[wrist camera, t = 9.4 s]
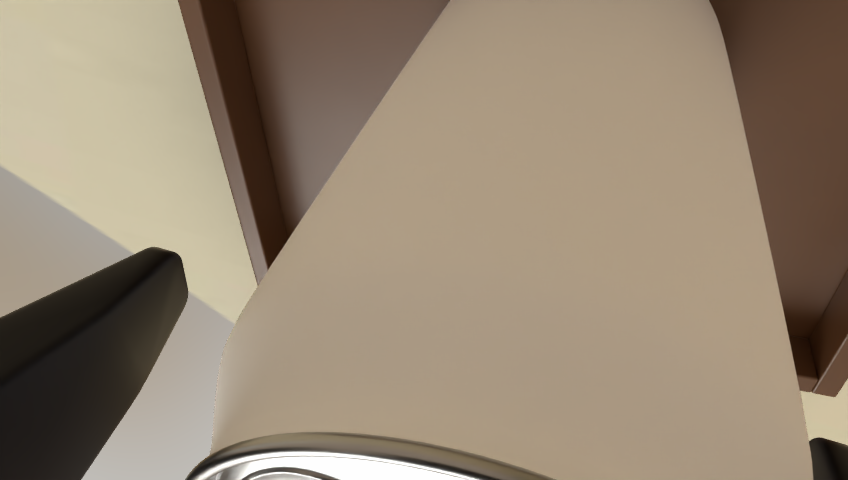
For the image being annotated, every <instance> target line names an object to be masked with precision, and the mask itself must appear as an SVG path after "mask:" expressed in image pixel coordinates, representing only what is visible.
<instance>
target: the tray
mask: <svg viewBox="0 0 848 480" xmlns="http://www.w3.org/2000/svg"><path fill="white" fill-rule="evenodd" d="M449 1H450V0H178V2H179V6H180V9H181V13H182V16H183V20H184V24H185V27H186V31H187V34H188V38H189V41H190V45H191V49H192V52H193V56H194V59H195V63H196V67H197V70H198V74H199V77H200V81H201V84H202V88H203V92H204V95H205V99H206V102H207V106H208V109H209V113H210V117H211V120H212V124H213V127H214V131H215V134H216V138H217V142H218V145H219V149H220V152H221V156H222V159H223V163H224V167H225V170H226V174H227V177H228V181H229V185H230V188H231V192H232V195H233V199H234V202H235V206H236V210H237V213H238V217H239V220H240V224H241V227H242V231H243V235H244V238H245V242H246V245H247V249H248V252H249V256H250V260H251V263H252V267H253V270H254V274H255V277H256V281H257V285H259V284H260V282H261V280H262V279H263V277H264V276H265V274H266V272H267V271H268V269H269V268H270V266H271V265H272V263H273V262H274V260H275V259H276V257H277V256H278V254H279V253H280V251H281V250H282V248H283V247H284V245H285V244H286V242H287V241H288V239H289V238H290V236H291V235H292V233H293V232H294V230H295V229H296V227H297V225H298V224H299V222H300V221H301V219H302V218H303V216H304V215H305V213H306V212H307V210H308V209H309V207H310V206H311V204H312V203H313V201H314V200H315V198H316V197H317V196H318V194H319V193H320V191H321V190H322V188H323V187H324V185H325V184H326V182H327V181H328V179H329V178H330V176H331V175H332V173H333V172H334V170H335V169H336V167H337V166H338V164H339V163H340V161H341V160H342V158H343V157H344V155H345V154H346V152H347V151H348V149H349V148H350V146H351V145H352V143H353V142H354V140H355V139H356V137H357V136H358V135H359V133H360V132H361V130H362V129H363V127H364V126H365V124H366V123H367V121H368V120H369V118H370V117H371V115H372V114H373V112H374V111H375V109H376V108H377V106H378V105H379V103H380V102H381V101H382V99H383V98H384V96H385V95H386V93H387V92H388V90H389V89H390V87H391V86H392V84H393V83H394V81H395V80H396V78H397V77H398V75H399V74H400V73H401V71H402V70H403V68H404V67H405V65H406V64H407V62H408V61H409V59H410V58H411V56H412V55H413V53H414V52H415V51H416V49H417V48H418V46H419V45H420V43H421V42H422V40H423V39H424V37H425V36H426V35H427V33H428V32H429V30H430V29H431V27H432V26H433V24H434V23H435V21H436V20H437V19H438V17H439V16H440V14H441V13H442V11H443V10H444V9H445V7H446V6H447V4H448V3H449ZM709 2H710V4H711V6H712V8H713V10H714V12H715V14H716V16H717V19H718V22H719V25H720V28H721V32H722V35H723V39H724V43H725V47H726V51H727V55H728V59H729V63H730V68H731V72H732V77H733V81H734V85H735V90H736V94H737V99H738V103H739V108H740V112H741V117H742V121H743V126H744V130H745V135H746V139H747V144H748V148H749V153H750V158H751V162H752V167H753V171H754V176H755V181H756V185H757V190H758V194H759V199H760V204H761V208H762V213H763V218H764V222H765V227H766V231H767V236H768V241H769V245H770V250H771V255H772V260H773V264H774V269H775V274H776V278H777V283H778V288H779V293H780V297H781V302H782V307H783V311H784V316H785V321H786V326H787V330H788V335H789V340H790V345H791V350H792V355H793V360H794V365H795V370H796V375H797V380H798V385H799V390H800V391H806V392H811V391H812V393H815V394H821V395H826V396H831V397H836V395H837V394H838V392H839V391H840V389H841V388H842V386H843V385H844V383H845V382H846V380H847V379H848V0H709Z"/></svg>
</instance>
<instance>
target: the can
mask: <svg viewBox="0 0 848 480" xmlns="http://www.w3.org/2000/svg"><path fill="white" fill-rule="evenodd" d="M185 480H813V469H812V458H811V451H810V445H809V440H808V434H807V428H806V422H805V416H804V411H803V405H802V399H801V394H800V390H799V385H798V380H797V375H796V370H795V365H794V360H793V355H792V350H791V345H790V340H789V335H788V330H787V326H786V321H785V316H784V311H783V307H782V302H781V297H780V293H779V288H778V283H777V278H776V274H775V269H774V264H773V260H772V255H771V250H770V245H769V241H768V236H767V231H766V227H765V222H764V218H763V213H762V208H761V204H760V199H759V194H758V190H757V185H756V181H755V176H754V171H753V167H752V162H751V158H750V153H749V148H748V144H747V139H746V135H745V130H744V126H743V121H742V117H741V112H740V108H739V103H738V99H737V94H736V90H735V85H734V81H733V77H732V72H731V68H730V63H729V59H728V55H727V51H726V47H725V43H724V39H723V35H722V32H721V28H720V25H719V22H718V19H717V16H716V14H715V12H714V10H713V8H712V6H711V4H710V2H709V0H450V1H449V3H448V4H447V6H446V7H445V9H444V10H443V11H442V13H441V14H440V16H439V17H438V19H437V20H436V21H435V23H434V24H433V26H432V27H431V29H430V30H429V32H428V33H427V35H426V36H425V37H424V39H423V40H422V42H421V43H420V45H419V46H418V48H417V49H416V51H415V52H414V53H413V55H412V56H411V58H410V59H409V61H408V62H407V64H406V65H405V67H404V68H403V70H402V71H401V73H400V74H399V75H398V77H397V78H396V80H395V81H394V83H393V84H392V86H391V87H390V89H389V90H388V92H387V93H386V95H385V96H384V98H383V99H382V101H381V102H380V103H379V105H378V106H377V108H376V109H375V111H374V112H373V114H372V115H371V117H370V118H369V120H368V121H367V123H366V124H365V126H364V127H363V129H362V130H361V132H360V133H359V135H358V136H357V137H356V139H355V140H354V142H353V143H352V145H351V146H350V148H349V149H348V151H347V152H346V154H345V155H344V157H343V158H342V160H341V161H340V163H339V164H338V166H337V167H336V169H335V170H334V172H333V173H332V175H331V176H330V178H329V179H328V181H327V182H326V184H325V185H324V187H323V188H322V190H321V191H320V193H319V194H318V196H317V197H316V198H315V200H314V201H313V203H312V204H311V206H310V207H309V209H308V210H307V212H306V213H305V215H304V216H303V218H302V219H301V221H300V222H299V224H298V225H297V227H296V229H295V230H294V232H293V233H292V235H291V236H290V238H289V239H288V241H287V242H286V244H285V245H284V247H283V248H282V250H281V251H280V253H279V254H278V256H277V257H276V259H275V260H274V262H273V263H272V265H271V266H270V268H269V269H268V271H267V272H266V274H265V276H264V277H263V279H262V280H261V282H260V284H259V285H258V287H257V288H256V290H255V292H254V293H253V295H252V296H251V298H250V300H249V301H248V303H247V304H246V306H245V308H244V309H243V311H242V313H241V314H240V316H239V318H238V320H237V322H236V324H235V326H234V328H233V330H232V332H231V334H230V336H229V338H228V340H227V343H226V345H225V348H224V351H223V354H222V359H221V363H220V368H219V372H218V380H217V388H216V398H215V409H214V423H213V437H212V446H211V451H210V455H209V456H208V457H207V458H205V459H204V460H203V461H201V462H200V463H199V464H198V465H197V466H196V467H195V468H194V469H193V470H192V471H191V472H190V473H189V475H188V476H187V478H186V479H185Z"/></svg>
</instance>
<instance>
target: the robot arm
mask: <svg viewBox="0 0 848 480" xmlns="http://www.w3.org/2000/svg"><path fill="white" fill-rule="evenodd" d="M187 298H188V287H187V282H186V278H185V273H184V268H183V263H182V259H181V257H180V256H179V255H178V254H177V253H175V252H172V251H169V250H165V249H162V248H158V247H150V248H147V249H145V250H142V251H140V252H138V253H136V254H134V255H132V256H130V257H128V258H126V259H123V260H121V261H119V262H117V263H115V264H113V265H111V266H109V267H107V268H104V269H102V270H100V271H98V272H96V273H94V274H92V275H90V276H87V277H85V278H83V279H81V280H79V281H77V282H75V283H73V284H71V285H69V286H66V287H64V288H62V289H60V290H58V291H56V292H54V293H52V294H50V295H47V296H46V297H43V298H41V299H39V300H37V301H35V302H32V303H30V304H28V305H26V306H24V307H22V308H20V309H18V310H16V311H13V312H11V313H9V314H7V315H5V316H3V317H1V318H0V480H81V479H82V478H83V476H84V474H85V473H86V471H87V470H88V469H89V467H90V466H91V464H92V463H93V461H94V460H95V458H96V457H97V455H98V454H99V452H100V451H101V449H102V448H103V446H104V445H105V443H106V442H107V440H108V439H109V437H110V436H111V434H112V433H113V431H114V430H115V428H116V427H117V425H118V424H119V423H120V421H121V420H122V418H123V417H124V415H125V414H126V412H127V410H128V409H129V408H130V406H131V405H132V403H133V401H134V400H135V398H136V397H137V395H138V394H139V392H140V390H141V388H142V386H143V385H144V383H145V381H146V380H147V378H148V376H149V374H150V372H151V370H152V368H153V366H154V364H155V362H156V361H157V359H158V357H159V355H160V353H161V351H162V349H163V347H164V345H165V343H166V341H167V339H168V338H169V336H170V334H171V332H172V330H173V328H174V326H175V324H176V322H177V321H178V318H179V317H180V315H181V313H182V311H183V309H184V307H185V305H186V302H187ZM809 445H810V451H811V458H812V469H813V480H848V446H847V445H845V444H841V443H838V442H835V441H831V440H828V439H824V438H815V439H812V440H811V441H809Z"/></svg>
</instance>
